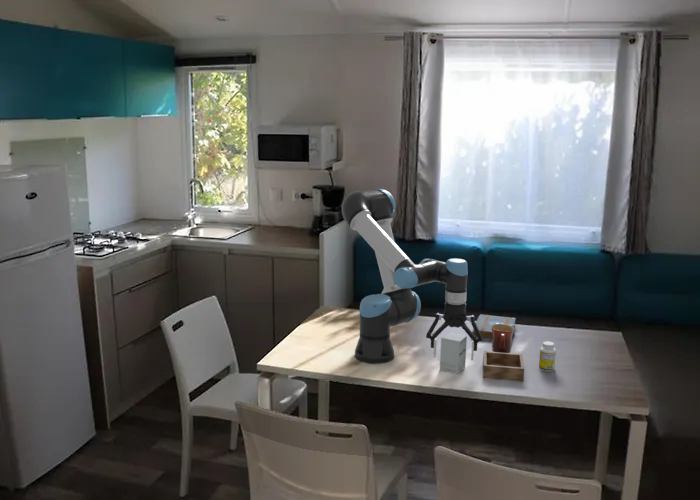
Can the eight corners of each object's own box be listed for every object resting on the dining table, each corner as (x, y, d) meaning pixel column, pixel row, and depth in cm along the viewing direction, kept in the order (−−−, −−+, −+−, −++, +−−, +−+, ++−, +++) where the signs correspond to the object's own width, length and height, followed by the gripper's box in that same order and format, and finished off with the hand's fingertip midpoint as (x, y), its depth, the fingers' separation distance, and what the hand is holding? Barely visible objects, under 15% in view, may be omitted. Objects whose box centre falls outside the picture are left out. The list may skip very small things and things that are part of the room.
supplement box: (457, 374, 238) (459, 341, 236) (439, 370, 242) (440, 337, 239) (465, 367, 245) (467, 335, 242) (447, 363, 248) (448, 331, 245)
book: (478, 323, 295) (478, 312, 294) (516, 327, 290) (516, 316, 289) (471, 338, 275) (472, 327, 274) (512, 343, 270) (512, 332, 269)
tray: (483, 378, 236) (483, 365, 235) (482, 363, 249) (483, 351, 248) (523, 381, 233) (524, 368, 232) (521, 366, 246) (522, 354, 245)
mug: (489, 347, 265) (491, 323, 262) (512, 349, 263) (513, 324, 261) (489, 358, 253) (491, 333, 251) (513, 360, 252) (515, 335, 249)
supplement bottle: (543, 365, 248) (545, 339, 245) (557, 369, 244) (559, 343, 241) (535, 369, 244) (537, 343, 242) (549, 373, 240) (551, 347, 238)
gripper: (419, 302, 236) (418, 358, 241) (491, 307, 232) (488, 364, 236) (421, 296, 243) (420, 351, 248) (490, 301, 239) (488, 356, 244)
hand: (453, 357), depth 242 cm, fingers open, 13 cm apart
